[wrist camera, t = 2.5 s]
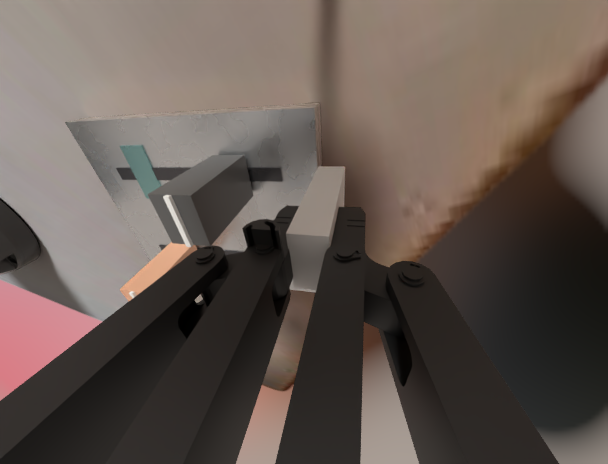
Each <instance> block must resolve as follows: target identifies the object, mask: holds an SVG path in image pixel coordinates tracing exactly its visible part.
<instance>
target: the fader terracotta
mask: <svg viewBox="0 0 608 464" xmlns="http://www.w3.org/2000/svg"><path fill="white" fill-rule="evenodd" d="M196 250H197V247H196V245H193V246H192V247H186V245H185V244H175V243H172V242H171V243H170V244H169V245H167V246H166V247H165V248H164V249H163V250H162V251H161V252H160V253H159V254H158V255H157V256H155V257H154V258H153V259H152V260H151V261H150V262H149V263H148V264H147V265H146V266H145V267H144V268H142V269H141V270H140V271H139V272H138V273H137V274H136V275H135V276H134V277H133V278H132V279H130V280H129V281H128V282H127V283H126V284H125V285H124V286H123V287H122V288H121V289H120V291H121V292H122V293H123V295H124V296H125V297H126V298H127V300H128V301H130V300H132V299H133V298H134V297H136V296H137V295H138V294H139V293H141V292H142V291H143V290H145V289H146V288H147V287H148V286H150V285H151V284H152V283H154V282H155V281H156V280H158V279H159V278H160V277H161V276H163V275H164V274H165V273H167V272H168V271H169V270H170V269H172V268H173V267H174V266H176V265H177V264H178V263H180V262H181V261H182V260H183V259H185V258H186V257H187V256H189V255H190V254H191V253H193V252H194V251H196Z"/></svg>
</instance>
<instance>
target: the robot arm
mask: <svg viewBox="0 0 608 464" xmlns="http://www.w3.org/2000/svg"><path fill="white" fill-rule="evenodd" d="M344 196H345V166H318V168H317V170H316V172H315V175H314V177H313V179H312V181H311V183H310V185H309V187H308V189H307V191H306V193H305V195H304V197H303V199H302V201H301V203H300V205H299V206H288V205H287V206H285V207H284V208H283V209H281V210H280V211H279V212H278V214H277V216H276V218H275V219H274V221H273V220H269V219H260V220H256V221H252V222H250V223H248V224H246V225H245V226H244V227H243V228H242V229H243V233H244V236H245V240H246V244H247V248H246V250H245V251H244V252H242V253H236V254H229V255H225V253H224V250H223V248H221V247H219V246H214V245H211V246H205V247H202V248H200V249H197V250H196V251H194V252H193V253H191V254H190V255H189V256H187V257H186V258H185V259H183V260H182V261H181V262H180V263H178V264H177V265H176V266H174V267H173V268H172V269H170V270H169V271H168V272H167V273H165V274H164V275H163V276H161V277H160V278H159V279H158V280H156V281H155V282H154V283H152V284H151V285H150V286H148V287H147V288H146V289H145V290H143V291H142V292H141V293H139V294H138V295H137V296H136V297H134V298H133V299H132V300H130V301H129V302H128V303H126V304H125V305H124V306H123V307H121V308H120V309H119V310H117V311H116V312H115V313H114V314H112V315H111V316H110V317H108V318H107V319H106V320H104V321H103V322H102V323H101V324H99V325H98V326H97V327H95V328H94V329H93V330H92V331H90V332H89V333H88V334H86V335H85V336H84V337H82V338H81V339H80V340H79V341H77V342H76V343H75V344H73V345H72V346H71V347H69V348H68V349H67V350H66V351H64V352H63V353H62V354H60V355H59V356H58V357H57V358H55V359H54V360H53V361H51V362H50V363H49V364H48V365H46V366H45V367H44V368H42V369H41V370H40V371H38V372H37V373H36V374H35V375H33V376H32V377H31V378H29V379H28V380H27V381H25V382H24V383H23V384H22V385H20V386H19V387H18V388H16V389H15V390H14V391H13V392H11V393H10V394H9V395H7V396H6V397H5V398H4V399H2V400H1V401H0V464H236V461H237V458H238V455H239V452H240V449H241V446H242V443H243V440H244V437H245V434H246V431H247V428H248V425H249V422H250V419H251V415H252V413H253V409H254V406H255V404H256V400H257V397H258V394H259V391H260V388H261V385H262V382H263V379H264V376H265V373H266V370H267V367H268V364H269V361H270V358H271V355H272V352H273V349H274V346H275V343H276V340H277V337H278V334H279V331H280V328H281V325H282V322H283V319H284V316H285V313H286V310H287V307H288V304H289V301H290V295H291V293H290V285H291V282H292V279H293V284H294V288H302V289H310V290H316V293H315V297H314V302H313V306H312V310H311V314H310V319H309V323H308V327H307V331H306V336H305V340H304V344H303V348H302V353H301V357H300V361H299V365H298V370H297V374H296V378H295V382H294V387H293V391H292V395H291V400H290V404H289V408H288V412H287V416H286V420H285V425H284V429H283V433H282V437H281V442H280V446H279V450H278V454H277V459H276V463H275V464H360V452H361V410H362V409H361V407H362V368H363V367H362V365H363V326H364V322H366V323H368V324H370V325H372V326H374V327H377V328H379V332H380V335H381V339H382V342H383V345H384V349H385V352H386V355H387V359H388V362H389V365H390V368H391V371H392V375H393V378H394V382H395V385H396V388H397V392H398V395H399V398H400V401H401V405H402V408H403V411H404V414H405V418H406V421H407V424H408V428H409V431H410V434H411V437H412V441H413V444H414V447H415V450H416V454H417V458H418V461H419V464H559V463H558V461H557V460H556V458H555V457H554V455H553V454H552V452H551V451H550V449H549V448H548V446H547V445H546V443H545V442H544V440H543V439H542V437H541V436H540V434H539V432H538V431H537V430H536V428H535V426H534V425H533V423H532V422H531V420H530V419H529V417H528V416H527V414H526V413H525V411H524V410H523V408H522V407H521V405H520V404H519V402H518V401H517V399H516V397H515V396H514V394H513V393H512V391H511V390H510V388H509V387H508V385H507V384H506V382H505V381H504V379H503V378H502V376H501V375H500V373H499V372H498V370H497V369H496V367H495V365H494V364H493V362H492V361H491V360H490V358H489V357H488V355H487V353H486V352H485V350H484V349H483V347H482V346H481V344H480V343H479V341H478V340H477V338H476V337H475V335H474V334H473V332H472V330H471V329H470V327H469V326H468V325H467V323H466V321H465V320H464V318H463V317H462V315H461V314H460V312H459V311H458V309H457V308H456V306H455V305H454V303H453V302H452V300H451V299H450V297H449V296H448V294H447V292H446V291H445V289H444V288H443V286H442V285H441V283H440V282H439V280H438V279H437V277H436V276H435V274H434V273H433V272H432V271H431V270H430V269H429V268H427V267H425V266H423V265H422V264H419V263H415V262H411V261H401V262H397V263H395V264H393V265H392V266H390V268H389V267H386V266H383V265H380V264H378V263H376V262H374V261H372V260H371V259H370V258H369V257H368V256H367V255H366V253H365V213H364V211H363V210H362V209H361V208H358V207H344ZM39 255H40V248H39V244H38V242H37V240H36V238H35V237H34V235H33V234H32V232H31V231H30V229H29V228H28V227H27V226H26V225H25V223H24V222H23V221H22V220H21V219H20V218H19V217H18V216H17V215H16V214H15V213H14V212H13V211H12V210H11V209H10V208H9V207H8V206H6V205H5V204H4V203H3V202H2V201H1V200H0V275H1V274H5V273H8V272H11V271H14V270H17V269H19V268H22V267H23V266H25V265H27V264H28V263H30V262H32V261H33V260H35V259H37V258H38V257H39ZM200 294H201V296H202V298H203V300H202V301H200V302H199V303H196V302H195V299H196V298H197V297H198V296H199V295H200Z"/></svg>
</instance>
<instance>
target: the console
mask: <svg viewBox="0 0 608 464" xmlns="http://www.w3.org/2000/svg"><path fill="white" fill-rule="evenodd" d="M65 123H66V125H67V126H68V128H69V129H70V131H71V133H72V134H73V136H74V138H75V139H76V141H77V142H78V144H79V146H80V147H81V149H82V151H83V152H84V154H85V156H86V157H87V159H88V160H89V162H90V164H91V165H92V167H93V169H94V170H95V172H96V173H97V175H98V177H99V178H100V180H101V182H102V183H103V185H104V186H105V188H106V190H107V191H108V193H109V195H110V196H111V198H112V199H113V201H114V203H115V204H116V206H117V208H118V209H119V211H120V212H121V214H122V216H123V217H124V219H125V221H126V222H127V224H128V226H129V227H130V229H131V230H132V232H133V234H134V235H135V237H136V239H137V240H138V242H139V243H140V245H141V247H142V248H143V250H144V252H145V253H146V255H147V256H148V258H149V260H150V261H151V260H152V259H153V258H154V257H155V256H157V255H158V254H159V253H160V252H161V251H162V250H163V249H164V248H165V247H166V246H167V245H169V244H170V243H171V242H172V241H171V240H170V238H169V236H168V234H167V232H166V230H165V228H164V226H163V224H162V222H161V220H160V218H159V216H158V214H157V212H156V210H155V208H154V206H153V204H152V202H151V200H150V198H149V196H148V195H147V194H149V193H150V192H152V191H154V190H155V189H157V188H159V187H160V186H162V185H164V184H165V183H167V182H169V181H170V180H172V179H174V178H175V177H177V176H179V175H180V174H182V173H184V172H185V171H187V170H189V169H190V168H192V167H194V166H195V165H197V164H199V163H200V162H202V161H204V160H205V159H207V158H209V157H210V156H212V155H244V156H245V160H246V164H247V169H248V173H249V178H250V182H251V187H252V191H253V197H252V198H251V199H250V200H249V202H248V203H247V204H246V205H245V206H244V207H243V209H242V210H241V211H240V212H239V213H238V215H237V216H236V217H235V218H234V219H233V220H232V222H231V223H230V224H229V225H228V226H227V228H226V229H225V230H224V231H223V232H222V233H221V235H220V236H219V237H218V238H217V239H216V241H215V242H214V243H213V244H212V245H214V246H219V247H221V248H223V250H224V253H225V255H229V254H236V253H242V252H244V251H245V250H246V248H247V244H246V240H245V236H244V233H243V229H242V228H243V227H244V226H245V225H246V224H248V223H250V222H252V221H256V220H260V219H269V220H273V221H274V219H275V218H276V216H277V214H278V212H279V211H280V210H281V209H283V208H284V207H285V206H287V205H288V206H299V205H300V203H301V201H302V199H303V197H304V195H305V193H306V191H307V189H308V187H309V185H310V183H311V181H312V179H313V177H314V175H315V172H316V170H317V168H318V166H322V148H321V119H320V103H308V104H292V105H276V106H260V107H244V108H228V109H212V110H197V111H181V112H165V113H149V114H133V115H117V116H101V117H89V118H83V119H78V120H73V121H68V122H65ZM196 247H197V249H200V248H202V247H205V246H200V245H196ZM290 290H298V291H307V292H315V293H316V290H310V289H302V288H294V284H293V279H292V282H291V285H290Z"/></svg>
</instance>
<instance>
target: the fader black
mask: <svg viewBox="0 0 608 464" xmlns="http://www.w3.org/2000/svg"><path fill="white" fill-rule="evenodd" d="M147 195H148V196H149V198H150V200H151V202H152V204H153V206H154V208H155V210H156V212H157V214H158V216H159V218H160V220H161V222H162V224H163V226H164V228H165V230H166V232H167V234H168V236H169V238H170V240H171V241H172V243H175V244H185V245H186V247H192V246H193V245H200V246H211V245H212V244H213V243H214V242H215V241H216V239H217V238H218V237H219V236H220V235H221V233H222V232H223V231H224V230H225V229H226V228H227V226H228V225H229V224H230V223H231V222H232V220H233V219H234V218H235V217H236V216H237V215H238V213H239V212H240V211H241V210H242V209H243V207H244V206H245V205H246V204H247V203H248V202H249V200H250V199H251V198H252V197H253V191H252V187H251V182H250V178H249V173H248V169H247V164H246V160H245V156H244V155H212V156H210V157H209V158H207V159H205V160H204V161H202V162H200V163H199V164H197V165H195V166H194V167H192V168H190V169H189V170H187V171H185V172H184V173H182V174H180V175H179V176H177V177H175V178H174V179H172V180H170V181H169V182H167V183H165V184H164V185H162V186H160V187H159V188H157V189H155V190H154V191H152V192H150V193H149V194H147Z"/></svg>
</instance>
